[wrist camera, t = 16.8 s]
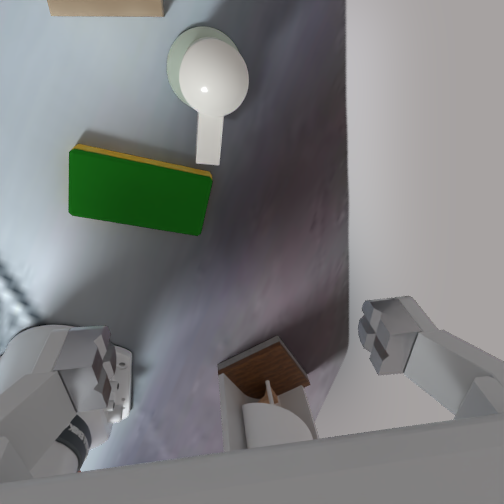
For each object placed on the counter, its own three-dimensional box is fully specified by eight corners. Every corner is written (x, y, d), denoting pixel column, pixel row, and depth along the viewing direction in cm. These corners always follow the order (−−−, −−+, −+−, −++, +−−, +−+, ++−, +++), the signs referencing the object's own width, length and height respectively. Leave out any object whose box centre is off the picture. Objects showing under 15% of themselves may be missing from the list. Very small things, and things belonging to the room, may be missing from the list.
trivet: (242, 109, 35) (243, 110, 35) (171, 111, 35) (171, 112, 34) (242, 26, 32) (242, 26, 31) (162, 26, 31) (161, 26, 31)
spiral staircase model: (306, 374, 60) (415, 708, 31) (251, 399, 61) (304, 739, 32) (277, 335, 54) (377, 705, 25) (217, 364, 55) (244, 743, 26)
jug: (182, 32, 31) (180, 34, 25) (241, 41, 32) (253, 46, 26) (179, 139, 36) (176, 164, 30) (230, 144, 37) (238, 169, 31)
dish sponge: (76, 141, 35) (68, 148, 33) (212, 170, 39) (213, 179, 37) (74, 205, 39) (68, 215, 37) (199, 226, 42) (200, 237, 40)
